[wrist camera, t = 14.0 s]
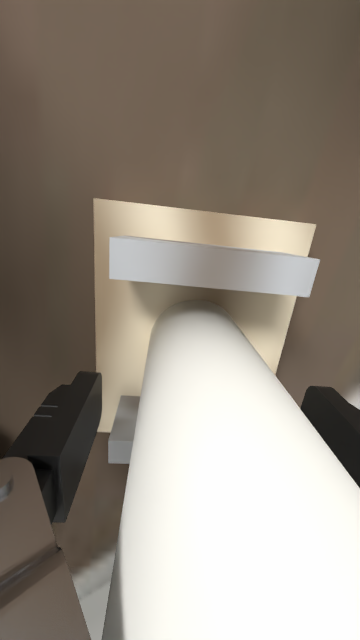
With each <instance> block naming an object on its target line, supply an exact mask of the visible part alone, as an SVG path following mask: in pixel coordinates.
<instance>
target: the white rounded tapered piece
mask: <svg viewBox="0 0 360 640" xmlns="http://www.w3.org/2000/svg"><path fill="white" fill-rule="evenodd" d="M102 640H360V488H359V487H358V485H357V484H356V483H355V481H354V480H353V479H352V477H351V476H350V475H349V473H348V472H347V471H346V469H345V468H344V467H343V465H342V464H341V463H340V461H339V460H338V459H337V457H336V456H335V455H334V453H333V452H332V451H331V449H330V448H329V447H328V445H327V444H326V443H325V441H324V440H323V439H322V437H321V436H320V435H319V433H318V432H317V431H316V429H315V428H314V427H313V425H312V424H311V423H310V421H309V420H308V419H307V417H306V416H305V415H304V413H303V412H302V411H301V409H300V408H299V407H298V405H297V404H296V403H295V401H294V400H293V399H292V397H291V396H290V395H289V393H288V392H287V391H286V389H285V388H284V387H283V385H282V384H281V383H280V381H279V380H278V379H277V377H276V376H275V375H274V373H273V372H272V371H271V369H270V368H269V367H268V365H267V364H266V363H265V361H264V360H263V359H262V357H261V356H260V355H259V353H258V352H257V351H256V349H255V348H254V347H253V345H252V344H251V343H250V341H249V340H248V339H247V337H246V336H245V335H244V333H243V332H242V331H241V329H240V328H239V327H238V325H237V324H236V323H235V321H234V320H233V319H232V317H231V316H230V315H229V314H228V313H227V312H226V311H225V310H224V309H223V308H221V307H220V306H218V305H216V304H214V303H212V302H208V301H204V300H187V301H183V302H180V303H177V304H175V305H173V306H171V307H169V308H168V309H167V310H165V311H164V312H163V313H162V314H161V315H160V316H159V317H158V319H157V320H156V322H155V323H154V325H153V327H152V330H151V333H150V339H149V346H148V352H147V358H146V364H145V371H144V377H143V383H142V390H141V396H140V402H139V408H138V415H137V421H136V427H135V434H134V440H133V446H132V452H131V459H130V465H129V471H128V478H127V484H126V490H125V497H124V503H123V509H122V515H121V522H120V528H119V534H118V541H117V547H116V553H115V559H114V566H113V572H112V578H111V585H110V591H109V597H108V603H107V610H106V617H105V622H104V629H103V635H102Z"/></svg>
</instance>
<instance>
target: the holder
mask: <svg viewBox="0 0 360 640" xmlns="http://www.w3.org/2000/svg"><path fill="white" fill-rule="evenodd" d="M315 227H316V224H308V223H299V222H291V221H283V220H274V219H266V218H257V217H249V216H240V215H232V214H223V213H215V212H206V211H198V210H189V209H181V208H172V207H164V206H155V205H147V204H138V203H130V202H121V201H113V200H104V199H96V198H94V261H95V328H96V372H99V373H101V374H102V414H101V420H100V424H99V427H98V430H97V432H111V433H110V437H109V440H108V463H122V464H130V459H131V452H132V446H133V440H134V434H135V427H136V421H137V415H138V408H139V402H140V396H141V390H142V383H143V377H144V371H145V364H146V358H147V352H148V346H149V339H150V333H151V330H152V327H153V325H154V323H155V322H156V320H157V319H158V317H159V316H160V315H161V314H162V313H163V312H164V311H165V310H167V309H168V308H169V307H171V306H173V305H175V304H177V303H180V302H183V301H187V300H204V301H208V302H212V303H214V304H216V305H218V306H220V307H221V308H223V309H224V310H225V311H226V312H227V313H228V314H229V315H230V316H231V317H232V319H233V320H234V321H235V323H236V324H237V325H238V327H239V328H240V329H241V331H242V332H243V333H244V335H245V336H246V337H247V339H248V340H249V341H250V343H251V344H252V345H253V347H254V348H255V349H256V351H257V352H258V353H259V355H260V356H261V357H262V359H263V360H264V361H265V363H266V364H267V365H268V367H269V368H270V369H271V371H272V372H273V373H274V375H275V374H276V370H277V367H278V363H279V359H280V356H281V352H282V348H283V345H284V341H285V337H286V334H287V330H288V326H289V323H290V319H291V315H292V312H293V308H294V304H295V301H296V297H297V296H302V297H309V296H310V292H311V289H312V286H313V282H314V279H315V275H316V272H317V268H318V265H319V262H320V259H314V258H309V257H308V253H309V249H310V246H311V242H312V238H313V235H314V231H315Z"/></svg>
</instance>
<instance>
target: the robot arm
mask: <svg viewBox="0 0 360 640" xmlns="http://www.w3.org/2000/svg"><path fill="white" fill-rule="evenodd" d="M300 409H301V411H302V412H303V413H304V415H305V416H306V417H307V419H308V420H309V421H310V423H311V424H312V425H313V427H314V428H315V429H316V431H317V432H318V433H319V435H320V436H321V437H322V439H323V440H324V441H325V443H326V444H327V445H328V447H329V448H330V449H331V451H332V452H333V453H334V455H335V456H336V457H337V459H338V460H339V461H340V463H341V464H342V465H343V467H344V468H345V469H346V471H347V472H348V473H349V475H350V476H351V477H352V479H353V480H354V481H355V483H356V484H357V485H358V487H359V488H360V410H359V409H357V408H356V407H354V406H353V405H351V404H350V403H348V402H347V401H346V400H345V399H344V398H343V397H342V396H341V395H340V394H339V393H338V392H337V391H336V390H335V389H333V388H332V387H321V386H310V387H308V389H307V390H306V393H305V396H304V399H303V402H302V405H301V408H300ZM101 414H102V374H101V373H99V372H83V371H80V372H79V373H78V374H77V376H76V377H75V379H74V381H73V382H72V384H71V385H61V386H59V387H58V388H56V389H55V390H53V391H52V392H51V393H49V395H48V396H47V397H46V399H45V400H44V401H43V403H42V404H41V407H39V408H38V410H37V411H36V413H35V414H34V417H32V418H31V419H30V421H29V422H28V424H27V425H26V426H25V428H24V429H23V431H22V432H21V433H20V435H19V436H18V438H17V439H16V440H15V442H14V443H13V444H12V446H11V447H10V449H9V450H8V451H7V453H6V454H5V456H4V457H3V458H2V459H0V640H91V638H90V635H89V632H88V628H87V625H86V622H85V619H84V616H83V612H82V609H81V606H80V603H79V600H78V596H77V593H76V590H75V587H74V584H73V581H72V577H71V574H70V571H69V568H68V565H67V562H66V559H65V556H64V553H63V551H62V549H61V548H60V547H58V545H57V543H56V540H55V537H54V533H53V530H52V527H51V525H52V522H66V519H67V516H68V513H69V510H70V507H71V505H72V502H73V499H74V496H75V493H76V490H77V487H78V484H79V482H80V479H81V476H82V473H83V470H84V467H85V464H86V461H87V459H88V456H89V453H90V450H91V447H92V444H93V441H94V438H95V436H96V433H97V430H98V427H99V424H100V420H101Z"/></svg>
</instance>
